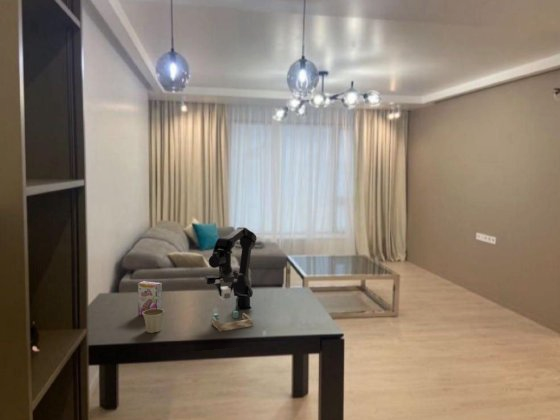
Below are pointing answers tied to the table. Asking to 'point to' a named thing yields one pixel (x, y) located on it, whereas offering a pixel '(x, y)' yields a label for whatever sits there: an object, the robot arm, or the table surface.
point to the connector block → (225, 293)
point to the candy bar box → (149, 296)
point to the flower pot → (153, 319)
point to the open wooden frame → (233, 323)
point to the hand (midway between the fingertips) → (224, 296)
